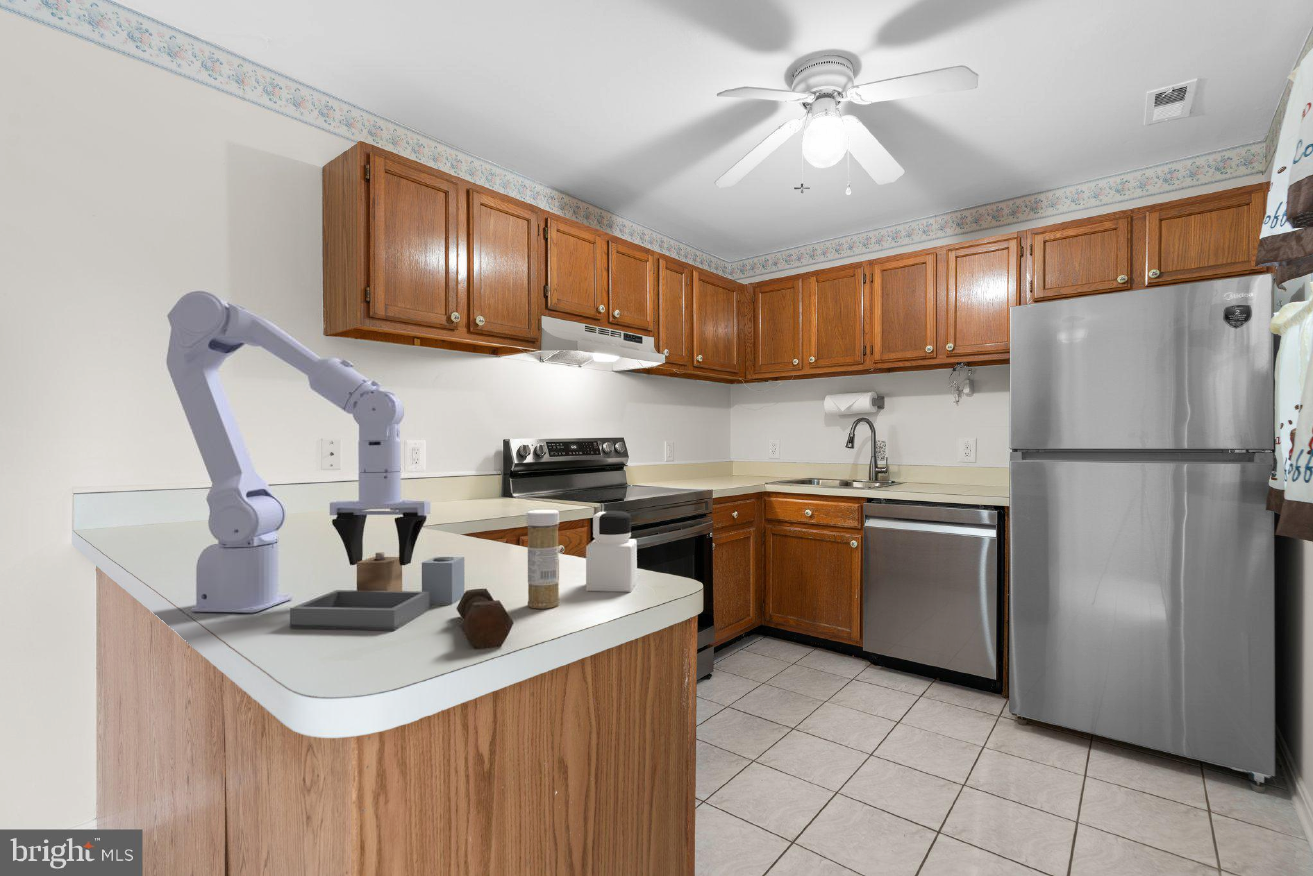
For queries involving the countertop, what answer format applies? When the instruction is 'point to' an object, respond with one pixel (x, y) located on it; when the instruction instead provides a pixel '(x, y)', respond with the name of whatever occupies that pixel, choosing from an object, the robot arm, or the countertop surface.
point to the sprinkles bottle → (543, 559)
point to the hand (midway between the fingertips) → (380, 564)
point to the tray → (360, 610)
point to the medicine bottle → (611, 554)
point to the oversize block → (443, 579)
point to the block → (379, 574)
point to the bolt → (483, 619)
